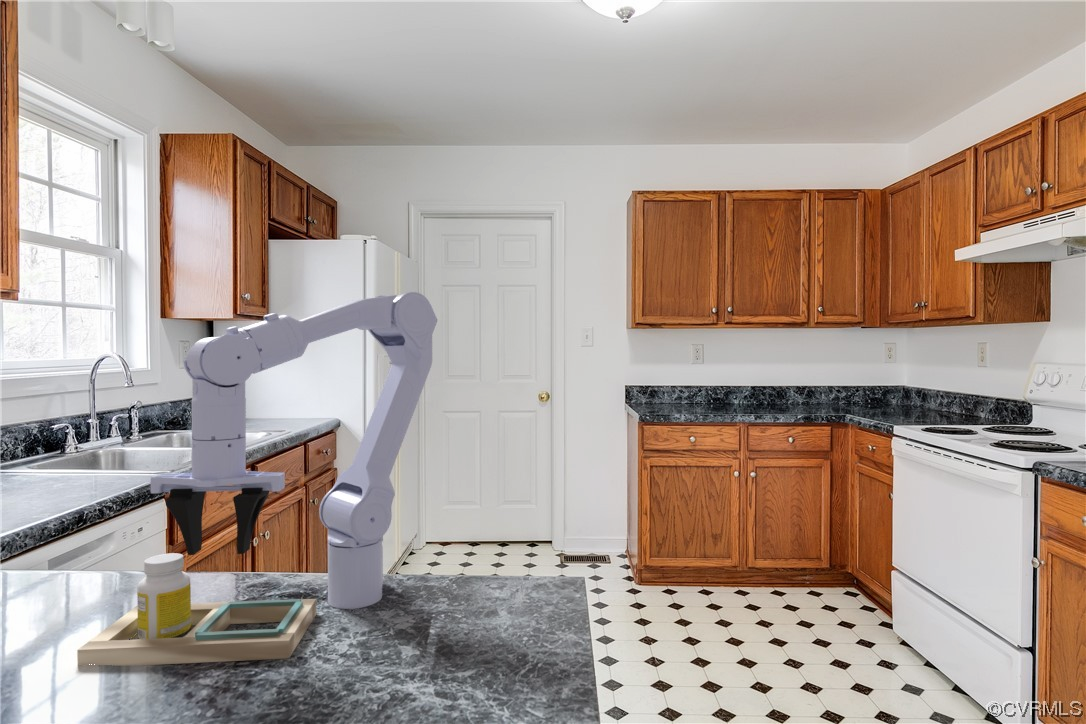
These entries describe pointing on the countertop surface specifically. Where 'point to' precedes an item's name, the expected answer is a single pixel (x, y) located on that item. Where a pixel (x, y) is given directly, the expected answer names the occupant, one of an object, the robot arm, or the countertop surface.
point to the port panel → (207, 635)
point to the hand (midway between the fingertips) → (219, 552)
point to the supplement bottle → (164, 598)
